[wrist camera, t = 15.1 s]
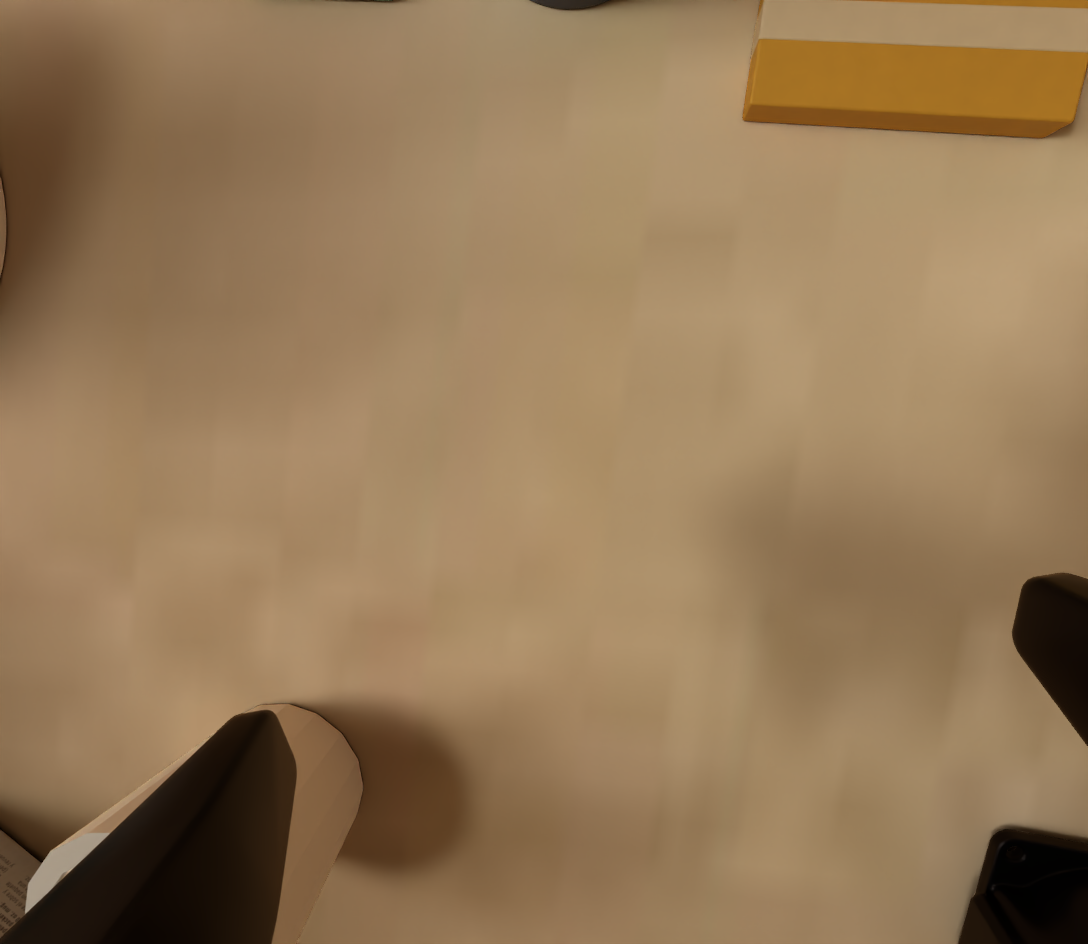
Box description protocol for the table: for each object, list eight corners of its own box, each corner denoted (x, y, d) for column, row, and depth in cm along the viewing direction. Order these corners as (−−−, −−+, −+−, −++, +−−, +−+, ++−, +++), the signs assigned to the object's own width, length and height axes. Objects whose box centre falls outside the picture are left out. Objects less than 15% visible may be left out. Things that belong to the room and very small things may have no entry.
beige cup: (197, 674, 22) (6, 813, 16) (382, 701, 22) (263, 862, 15) (204, 841, 24) (30, 1037, 17) (378, 874, 23) (268, 1094, 16)
